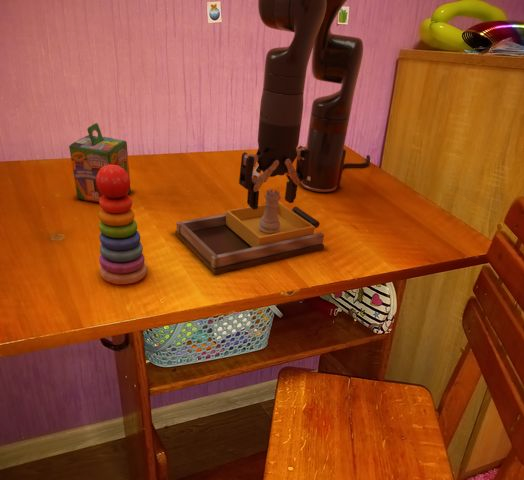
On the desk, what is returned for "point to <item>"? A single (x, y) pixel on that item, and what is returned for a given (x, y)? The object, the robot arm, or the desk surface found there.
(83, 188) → the chalk box
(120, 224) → the stacking toy
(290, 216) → the tray
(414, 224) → the desk surface
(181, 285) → the desk surface
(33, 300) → the desk surface
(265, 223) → the rook chess piece
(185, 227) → the base
